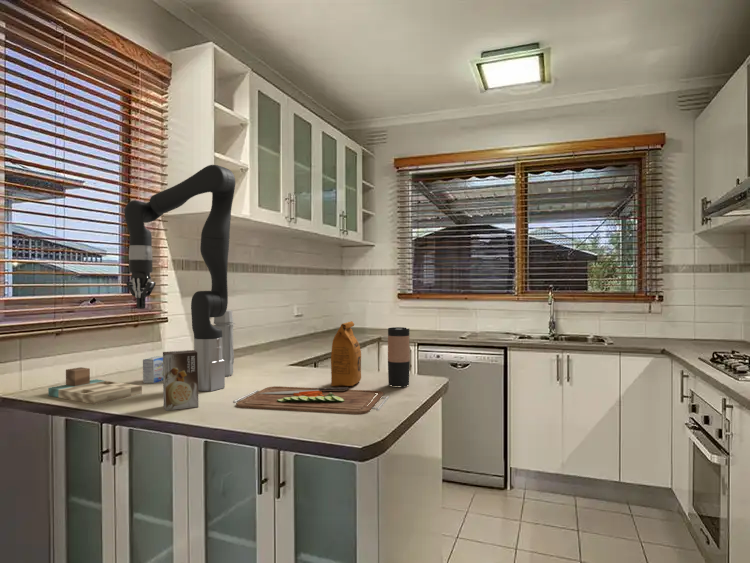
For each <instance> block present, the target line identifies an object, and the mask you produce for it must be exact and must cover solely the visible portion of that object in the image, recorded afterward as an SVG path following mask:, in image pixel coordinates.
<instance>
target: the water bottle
mask: <svg viewBox="0 0 750 563" xmlns="http://www.w3.org/2000/svg"><path fill="white" fill-rule="evenodd" d="M233 316H234V315H233V310H228V309H227V310H226V312H225V314H224V315H223V316H221V317H213V318H214V319H213V326H214V327H217V328H220V329H221V330H222V360H224V361H225V378H226V376H227V377H230V376H233V374H234V362H235V354H234V351H235V350H234V326H235V325H236V323H235V322H234V317H233Z"/></svg>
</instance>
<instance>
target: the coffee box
mask: <svg viewBox="0 0 750 563" xmlns="http://www.w3.org/2000/svg"><path fill="white" fill-rule="evenodd" d="M162 356H163V381H162V382H163V384H162V385H163V386H162V387H163V389H162V390H163V407H164V410H165V411H167V412H169V411H175V410H182V409H183V410H184V409H191V408H198V407H199V405H200V404H199V391H198V355H197V352H196V351H195V350H194V349H192V350H189V349H187V350H174V351H171V350H170V351H162Z"/></svg>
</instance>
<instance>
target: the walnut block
mask: <svg viewBox="0 0 750 563" xmlns="http://www.w3.org/2000/svg"><path fill="white" fill-rule="evenodd" d="M90 374H91V370H90V368H87V367H74V368H68V369H65V385H70V386H79V385H85V384H90V380H91V377H90V376H91V375H90Z"/></svg>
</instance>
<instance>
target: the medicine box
mask: <svg viewBox="0 0 750 563" xmlns="http://www.w3.org/2000/svg"><path fill="white" fill-rule="evenodd" d="M142 382H143V383H144V384H157V383H159V382H163V355H161V356H160V355H157V356H153V357H148V358H145V359H142Z"/></svg>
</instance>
